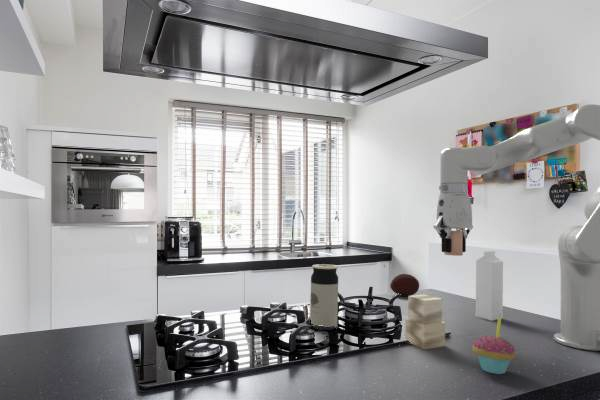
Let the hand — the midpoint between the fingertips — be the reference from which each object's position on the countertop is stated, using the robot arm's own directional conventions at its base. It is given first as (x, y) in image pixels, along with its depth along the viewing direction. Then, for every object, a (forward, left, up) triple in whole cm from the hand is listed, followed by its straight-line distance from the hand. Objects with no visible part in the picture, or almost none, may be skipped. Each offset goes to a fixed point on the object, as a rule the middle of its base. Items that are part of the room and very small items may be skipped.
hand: (453, 251), depth 118 cm
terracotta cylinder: (0, 0, -1) cm, 1 cm away
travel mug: (+16, +34, -23) cm, 44 cm away
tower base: (-6, +16, -23) cm, 29 cm away
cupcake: (-26, +15, -23) cm, 38 cm away
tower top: (-6, +16, -17) cm, 24 cm away
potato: (+45, -21, -23) cm, 55 cm away
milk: (+7, -24, -23) cm, 34 cm away
